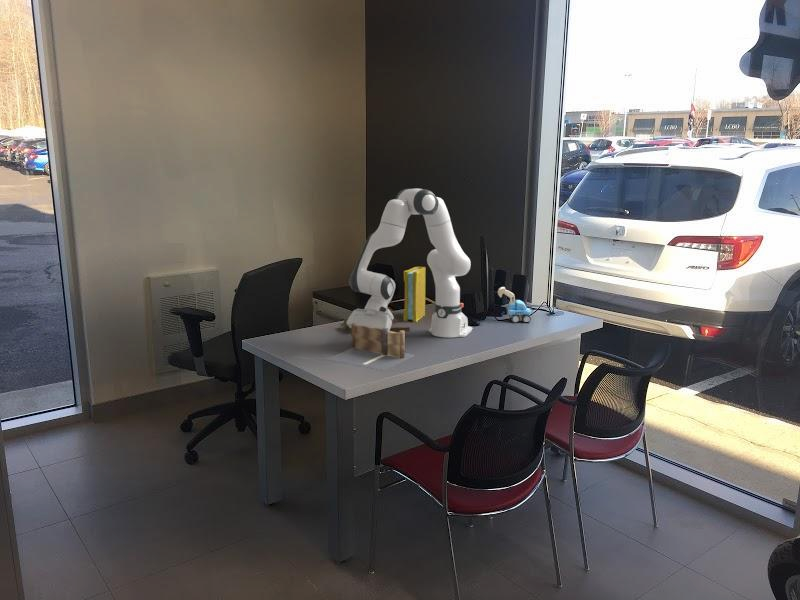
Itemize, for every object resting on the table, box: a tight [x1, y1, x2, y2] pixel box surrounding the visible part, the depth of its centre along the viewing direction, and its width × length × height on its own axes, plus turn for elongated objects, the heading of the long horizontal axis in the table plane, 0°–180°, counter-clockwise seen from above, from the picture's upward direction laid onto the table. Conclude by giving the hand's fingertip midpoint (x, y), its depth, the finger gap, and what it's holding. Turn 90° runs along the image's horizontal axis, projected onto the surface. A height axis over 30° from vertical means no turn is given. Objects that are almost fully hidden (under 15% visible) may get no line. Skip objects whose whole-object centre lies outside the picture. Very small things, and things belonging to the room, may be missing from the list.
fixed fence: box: [382, 328, 406, 358], centre depth 267 cm, size 10×2×11 cm, turn 59°
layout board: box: [325, 347, 416, 372], centre depth 267 cm, size 24×28×1 cm
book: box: [403, 266, 426, 323], centre depth 332 cm, size 17×7×25 cm, turn 159°
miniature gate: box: [340, 313, 411, 335], centre depth 312 cm, size 27×6×30 cm
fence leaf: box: [351, 323, 382, 353], centre depth 274 cm, size 15×2×10 cm, turn 59°
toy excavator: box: [497, 286, 532, 323], centre depth 328 cm, size 9×17×17 cm, turn 88°
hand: (361, 338), depth 278 cm, fingers closed
